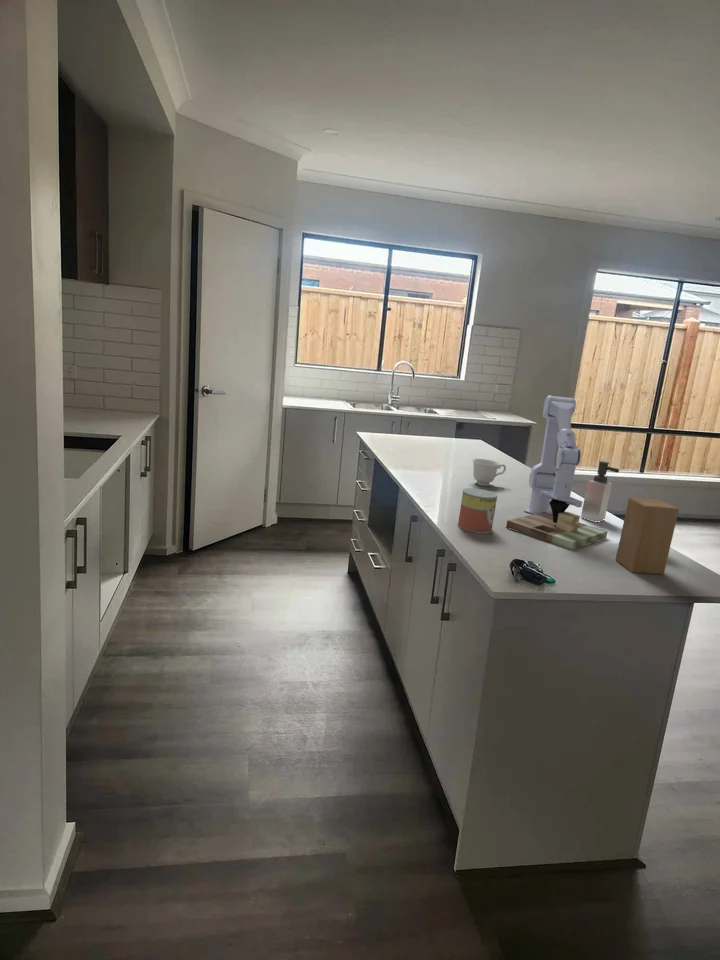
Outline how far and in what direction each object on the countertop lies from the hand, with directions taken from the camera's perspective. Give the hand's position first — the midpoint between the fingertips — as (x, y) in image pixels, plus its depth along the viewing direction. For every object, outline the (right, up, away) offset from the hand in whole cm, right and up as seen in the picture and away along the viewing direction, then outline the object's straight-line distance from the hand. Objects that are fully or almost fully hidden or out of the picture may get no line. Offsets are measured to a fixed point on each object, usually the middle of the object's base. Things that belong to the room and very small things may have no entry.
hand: (556, 522), depth 209 cm
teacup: (-11, +12, +62) cm, 64 cm away
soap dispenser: (+22, -1, +22) cm, 31 cm away
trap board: (0, -4, 0) cm, 4 cm away
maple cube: (+3, -2, -3) cm, 4 cm away
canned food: (-28, -2, -4) cm, 28 cm away
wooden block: (+16, -12, -26) cm, 33 cm away
